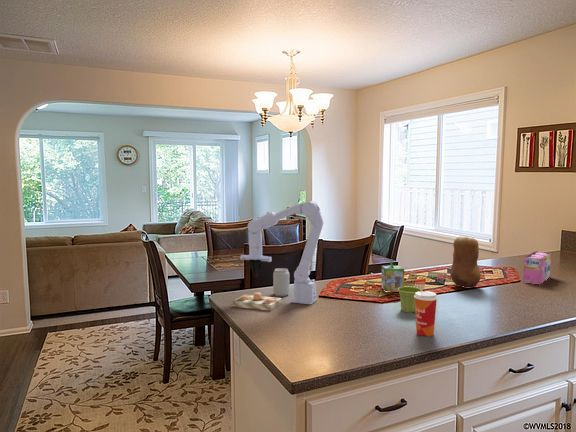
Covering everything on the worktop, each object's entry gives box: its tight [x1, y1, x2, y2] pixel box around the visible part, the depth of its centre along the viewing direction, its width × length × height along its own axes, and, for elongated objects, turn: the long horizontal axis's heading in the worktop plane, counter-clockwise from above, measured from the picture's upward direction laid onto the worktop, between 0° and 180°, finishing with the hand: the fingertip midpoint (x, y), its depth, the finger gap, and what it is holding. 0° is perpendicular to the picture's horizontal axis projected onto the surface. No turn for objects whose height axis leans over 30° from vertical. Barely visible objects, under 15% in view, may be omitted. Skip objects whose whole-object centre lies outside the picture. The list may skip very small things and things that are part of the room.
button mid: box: [252, 291, 262, 301], centre depth 180 cm, size 3×3×3 cm
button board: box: [232, 293, 283, 312], centre depth 180 cm, size 18×11×3 cm, turn 68°
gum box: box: [522, 251, 552, 285], centre depth 221 cm, size 24×8×14 cm, turn 137°
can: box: [272, 267, 290, 297], centre depth 196 cm, size 8×8×12 cm
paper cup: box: [414, 290, 438, 337], centre depth 145 cm, size 8×8×14 cm
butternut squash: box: [449, 236, 482, 288], centre depth 206 cm, size 14×13×25 cm
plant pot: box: [398, 286, 423, 313], centre depth 171 cm, size 9×9×9 cm
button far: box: [240, 295, 249, 300], centre depth 183 cm, size 3×3×3 cm
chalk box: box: [380, 259, 405, 291], centre depth 201 cm, size 9×9×15 cm
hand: (256, 276), depth 188 cm, fingers closed
